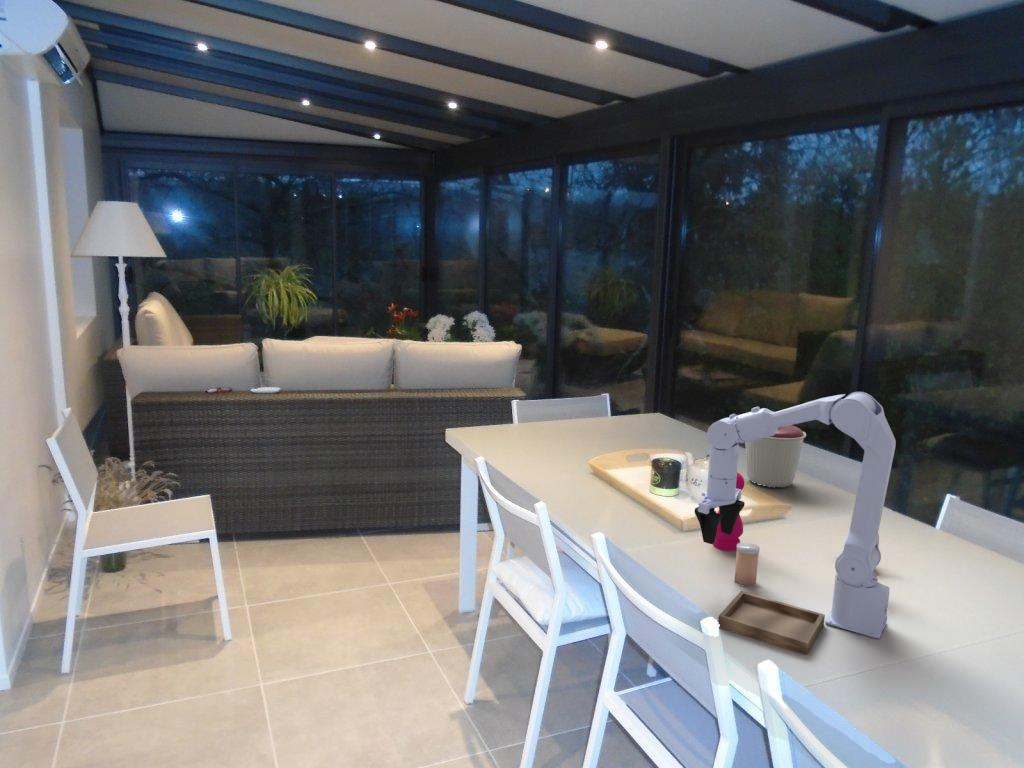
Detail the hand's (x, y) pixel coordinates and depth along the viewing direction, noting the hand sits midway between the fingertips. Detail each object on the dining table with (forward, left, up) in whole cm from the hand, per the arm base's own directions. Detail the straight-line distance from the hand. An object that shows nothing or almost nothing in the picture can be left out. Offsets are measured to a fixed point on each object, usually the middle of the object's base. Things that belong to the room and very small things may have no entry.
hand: (717, 537), depth 155 cm
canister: (+11, -78, -10) cm, 80 cm away
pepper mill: (+5, -21, -10) cm, 24 cm away
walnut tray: (-15, +12, -10) cm, 22 cm away
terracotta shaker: (-5, -4, -10) cm, 12 cm away
